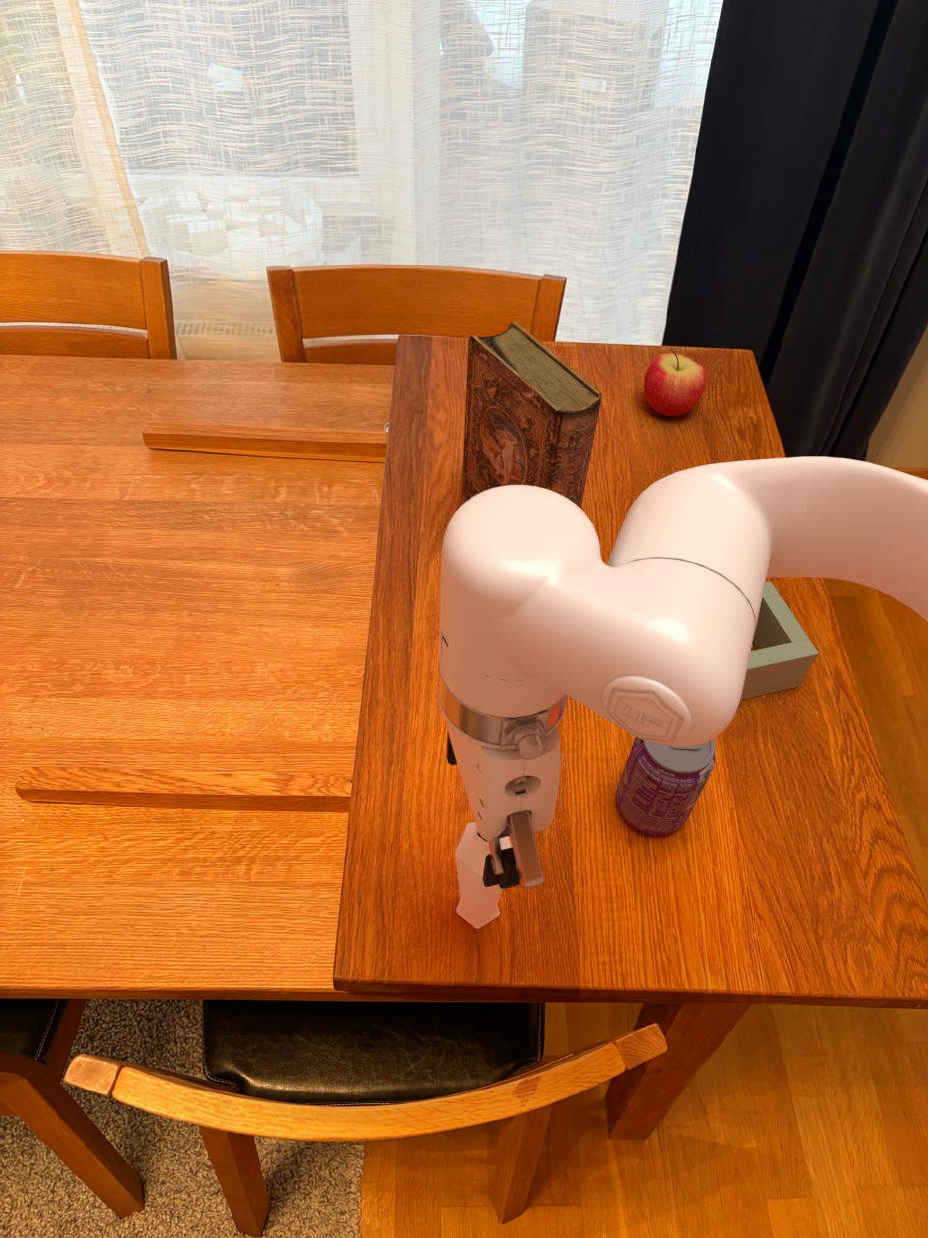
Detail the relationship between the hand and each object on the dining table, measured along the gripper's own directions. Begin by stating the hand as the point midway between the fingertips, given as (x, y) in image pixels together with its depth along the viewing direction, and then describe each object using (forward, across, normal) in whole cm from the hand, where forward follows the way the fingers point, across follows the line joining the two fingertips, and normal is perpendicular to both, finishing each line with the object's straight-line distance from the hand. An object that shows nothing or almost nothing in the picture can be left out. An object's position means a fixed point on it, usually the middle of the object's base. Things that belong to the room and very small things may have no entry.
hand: (485, 815), depth 62 cm
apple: (+18, +62, -46) cm, 80 cm away
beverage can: (+18, +5, -19) cm, 27 cm away
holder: (+18, +19, -35) cm, 44 cm away
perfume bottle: (+18, 0, 0) cm, 18 cm away
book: (+18, +42, -17) cm, 49 cm away
